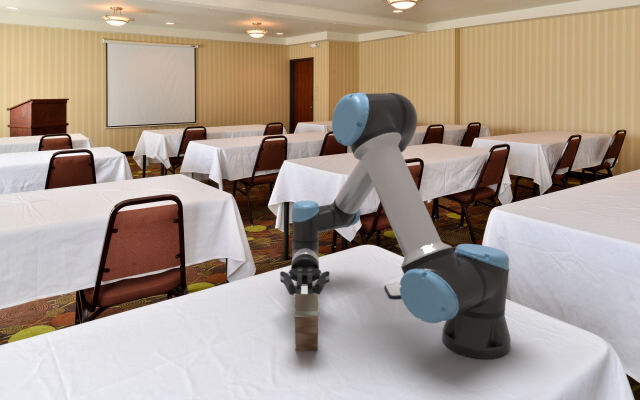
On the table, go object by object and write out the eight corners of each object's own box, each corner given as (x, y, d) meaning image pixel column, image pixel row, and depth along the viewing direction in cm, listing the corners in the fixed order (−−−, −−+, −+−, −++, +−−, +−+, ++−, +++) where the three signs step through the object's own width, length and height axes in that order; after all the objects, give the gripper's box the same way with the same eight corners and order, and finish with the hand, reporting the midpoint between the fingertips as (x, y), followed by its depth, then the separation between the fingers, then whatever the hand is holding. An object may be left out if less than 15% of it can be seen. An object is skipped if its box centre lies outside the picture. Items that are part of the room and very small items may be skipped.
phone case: (389, 301, 140) (445, 298, 141) (389, 296, 140) (445, 293, 141) (383, 289, 149) (435, 287, 150) (383, 284, 149) (435, 282, 150)
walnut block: (317, 332, 116) (317, 293, 109) (317, 350, 112) (318, 311, 105) (295, 332, 116) (294, 294, 109) (295, 351, 112) (294, 311, 105)
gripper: (329, 279, 136) (333, 317, 112) (281, 279, 135) (275, 318, 112) (329, 253, 134) (333, 286, 111) (280, 253, 134) (274, 287, 111)
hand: (304, 302), depth 112 cm, fingers closed
